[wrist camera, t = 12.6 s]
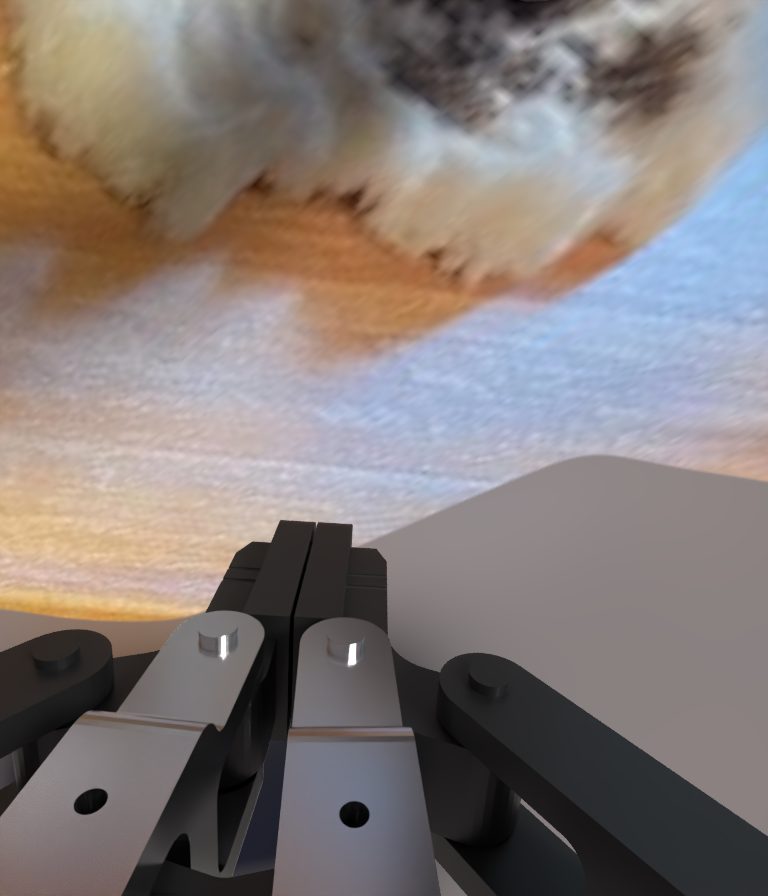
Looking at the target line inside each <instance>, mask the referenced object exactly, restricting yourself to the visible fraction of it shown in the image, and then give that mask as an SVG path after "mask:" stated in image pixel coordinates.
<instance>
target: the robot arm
mask: <svg viewBox="0 0 768 896" xmlns="http://www.w3.org/2000/svg"><path fill="white" fill-rule="evenodd" d="M520 1H525V2H537V1H547V0H520ZM352 528H353V524H338V523H322V522H318V524H317V528H316V523H315V522H304V521H287V520H280V522H279V524H278V527H277V529H276V532H275V534H274V537H273V539H272V542H271V543H268V542H251V543H250V544H248V545H247V546H245V547H244V548H242V549H241V550H240V551H238V552H237V553H236V554H235V556H234V558H233V560H232V562H231V564H230V566H229V569H228V570H227V572H226V574H225V576H224V578H223V581H222V582H221V583H220V585H219V587H218V589H217V591H216V593H215V595H214V597H213V599H212V601H211V603H210V605H209V607H208V609H207V611H206V613H203V614H200V615H197V616H194V617H192V618H190V619H188V620H186V621H185V622H183V623H182V624H181V625H179V626H178V627H177V628H176V629H175V630H174V632H173V633H172V634H171V636H170V637H169V639H168V640H167V641H166V643H165V644H164V646H163V647H162V649H161V650H158V651H154V652H149V653H144V654H137V655H131V656H124V657H117V658H113V655H112V645H111V643H110V641H109V640H108V639H107V638H106V637H105V636H104V635H102V634H100V633H97V632H94V631H89V630H79V629H78V630H64V631H58V632H53V633H49V634H45V635H43V636H40V637H37V638H34V639H32V640H29V641H27V642H24V643H22V644H20V645H17V646H15V647H12V648H10V649H8V650H5V651H3V652H0V758H2V757H4V756H6V755H8V754H10V753H12V758H13V765H14V772H15V778H16V781H15V782H13V783H11V784H9V785H8V786H6V787H4V788H2V789H1V790H0V896H441V894H440V887H439V881H438V875H437V870H436V863H435V859H436V860H437V861H438V862H439V864H441V866H442V867H443V868H444V869H445V870H446V872H447V873H448V874H449V875H450V876H451V877H452V878H453V880H454V881H455V882H456V883H457V884H458V885H459V886H460V888H461V889H462V890H463V891H464V892H465V893H466V894H467V896H768V836H766V835H765V834H763V833H762V832H761V831H759V830H758V829H756V828H755V827H753V826H752V825H750V824H749V823H747V822H746V821H745V820H743V819H741V818H740V817H739V816H737V815H736V814H734V813H733V812H732V811H730V810H729V809H727V808H726V807H724V806H723V805H721V804H720V803H718V802H717V801H716V800H714V799H713V798H711V797H710V796H708V795H707V794H705V793H704V792H702V791H701V790H699V789H698V788H697V787H695V786H694V785H692V784H691V783H689V782H688V781H686V780H685V779H683V778H682V777H681V776H679V775H678V774H676V773H675V772H673V771H672V770H670V769H669V768H667V767H666V766H665V765H663V764H662V763H660V762H659V761H657V760H656V759H654V758H653V757H651V756H650V755H649V754H647V753H646V752H644V751H643V750H641V749H639V748H638V747H637V746H635V745H634V744H633V743H631V742H630V741H628V740H627V739H625V738H624V737H622V736H621V735H619V734H618V733H617V732H615V731H614V730H612V729H611V728H609V727H607V726H606V725H605V724H603V723H602V722H601V721H599V720H598V719H596V718H595V717H593V716H592V715H590V714H589V713H587V712H586V711H584V710H583V709H582V708H580V707H579V706H577V705H576V704H574V703H573V702H571V701H570V700H568V699H567V698H566V697H564V696H563V695H561V694H560V693H558V692H557V691H555V690H554V689H552V688H551V687H550V686H548V685H546V684H545V683H544V682H542V681H541V680H539V679H538V678H536V677H535V676H534V675H532V674H531V673H529V672H528V671H526V670H525V669H523V668H522V667H520V666H519V665H517V664H516V663H514V662H512V661H510V660H508V659H505V658H502V657H499V656H496V655H492V654H485V653H468V654H463V655H459V656H457V657H454V658H453V659H451V660H449V661H448V662H447V663H446V664H445V665H444V666H443V668H442V669H441V672H440V673H439V672H436V671H433V670H429V669H426V668H423V667H420V666H417V665H415V664H413V663H411V662H409V661H407V660H405V659H404V658H402V657H401V656H400V655H399V654H398V653H397V652H396V651H395V650H394V649H393V648H392V646H391V643H390V639H389V638H388V632H387V630H388V629H387V562H386V560H385V559H384V558H383V557H382V555H381V554H380V553H379V552H378V550H377V549H370V548H354V547H352ZM290 722H291V727H290ZM289 727H290V728H289ZM288 732H289V735H288ZM287 737H288V744H287V753H286V763H285V773H284V783H283V794H282V803H281V814H280V823H279V834H278V843H277V852H276V862H275V869H271V870H265V871H260V872H256V873H251V874H246V875H241V876H236V877H232V875H233V871H234V868H235V865H236V862H237V859H238V856H239V853H240V850H241V847H242V844H243V841H244V838H245V835H246V831H247V828H248V825H249V822H250V819H251V816H252V813H253V810H254V807H255V804H256V801H257V797H258V794H259V791H260V788H261V785H262V781H263V763H264V761H265V759H266V756H267V752H268V748H269V743H270V740H287ZM521 798H522V799H523V800H524V801H525V802H526V803H527V804H528V805H530V806H531V807H532V808H533V809H534V810H535V811H536V812H537V813H538V814H540V815H541V816H542V817H543V818H544V819H545V820H546V821H547V822H549V823H550V824H551V825H552V826H553V827H554V828H555V829H556V830H557V831H559V832H560V833H561V834H562V835H563V836H564V837H565V838H566V839H567V840H568V841H569V843H570V844H571V845H572V847H573V848H574V849H575V851H576V853H577V854H576V853H575V852H574V851H573V850H572V849H571V848H569V847H568V846H567V845H566V844H565V843H564V842H563V841H562V840H561V839H560V838H558V837H557V836H556V835H555V834H554V833H553V832H552V831H551V830H550V829H548V828H547V827H546V826H545V825H544V824H543V823H542V822H541V821H540V820H539V819H537V818H536V817H535V816H534V815H533V814H532V813H531V812H530V811H529V810H527V809H526V808H525V807H524V806H523V805H522V804H521V803H520V801H521Z"/></svg>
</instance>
